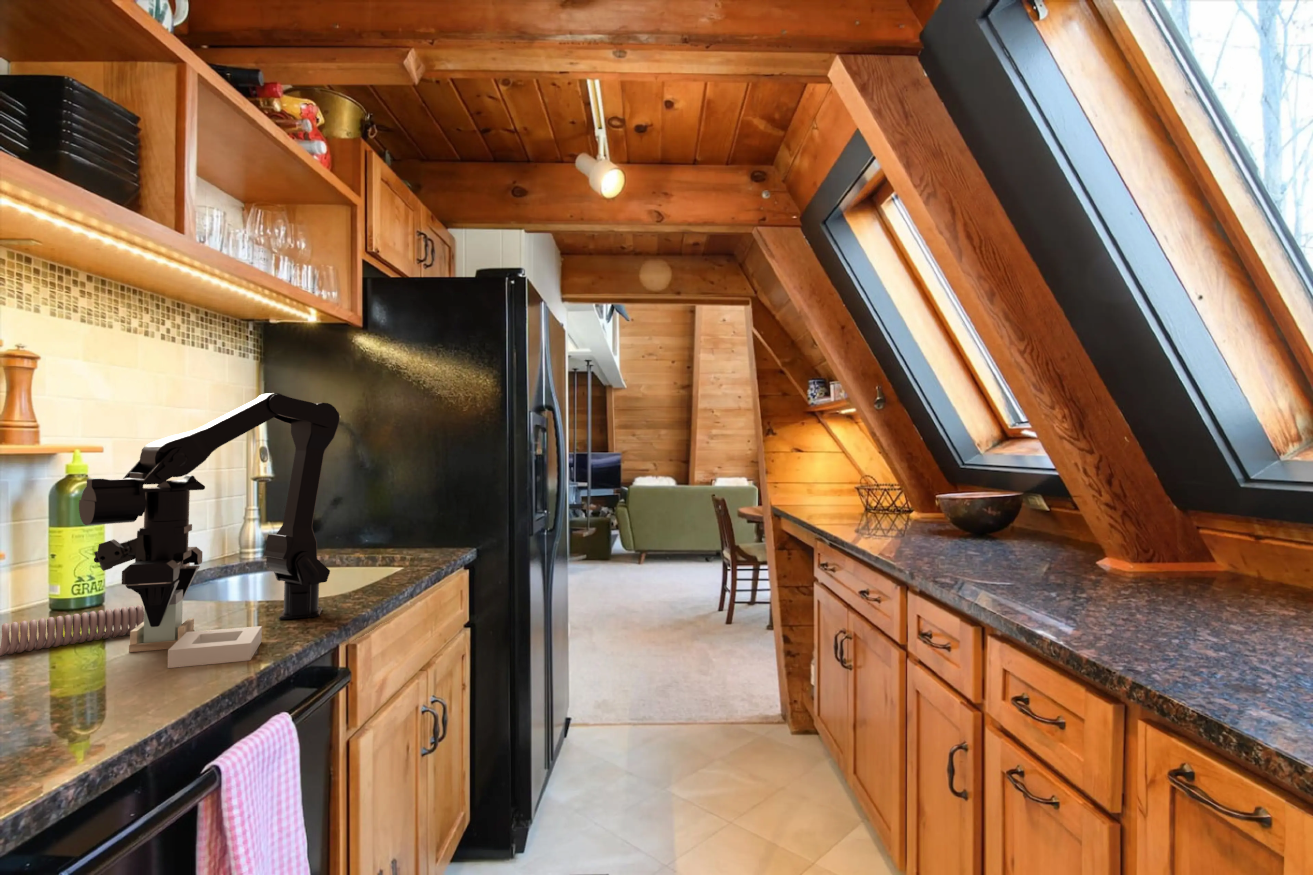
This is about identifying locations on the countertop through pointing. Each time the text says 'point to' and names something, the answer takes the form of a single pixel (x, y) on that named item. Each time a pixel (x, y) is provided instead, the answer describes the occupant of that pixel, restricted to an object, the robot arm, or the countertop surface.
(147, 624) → the plug
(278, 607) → the countertop surface
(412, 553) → the countertop surface
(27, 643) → the coil
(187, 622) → the light brown square holder
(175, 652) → the plate
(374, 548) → the countertop surface
